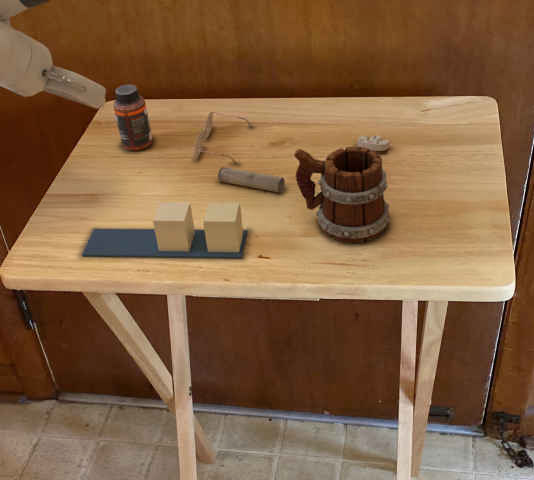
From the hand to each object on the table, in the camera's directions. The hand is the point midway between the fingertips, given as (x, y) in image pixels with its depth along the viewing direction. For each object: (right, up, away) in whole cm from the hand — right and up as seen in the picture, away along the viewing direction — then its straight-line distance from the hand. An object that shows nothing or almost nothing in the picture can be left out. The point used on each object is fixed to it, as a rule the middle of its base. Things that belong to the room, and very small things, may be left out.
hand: (82, 96), depth 141 cm
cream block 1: (+18, -26, -10) cm, 33 cm away
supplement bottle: (+7, -5, +15) cm, 18 cm away
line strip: (+16, -27, -9) cm, 32 cm away
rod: (+29, -15, +2) cm, 33 cm away
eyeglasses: (+24, -6, +13) cm, 28 cm away
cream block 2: (+25, -26, -11) cm, 38 cm away
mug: (+44, -23, -9) cm, 51 cm away
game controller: (+50, -10, +6) cm, 51 cm away
